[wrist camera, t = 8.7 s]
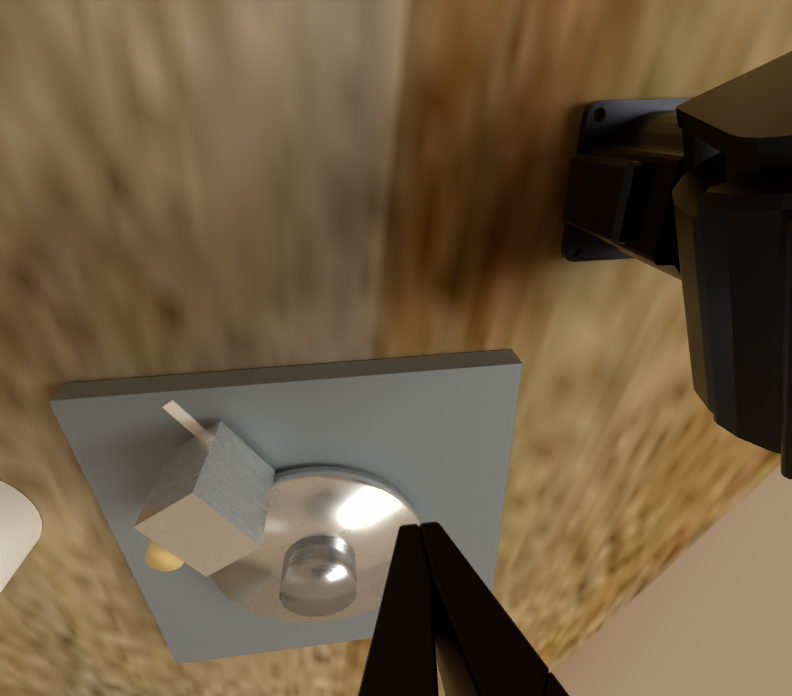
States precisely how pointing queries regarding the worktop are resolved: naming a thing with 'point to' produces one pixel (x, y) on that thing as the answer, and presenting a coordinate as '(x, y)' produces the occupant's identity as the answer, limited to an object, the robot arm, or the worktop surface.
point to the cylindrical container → (16, 530)
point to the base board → (299, 465)
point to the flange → (277, 529)
